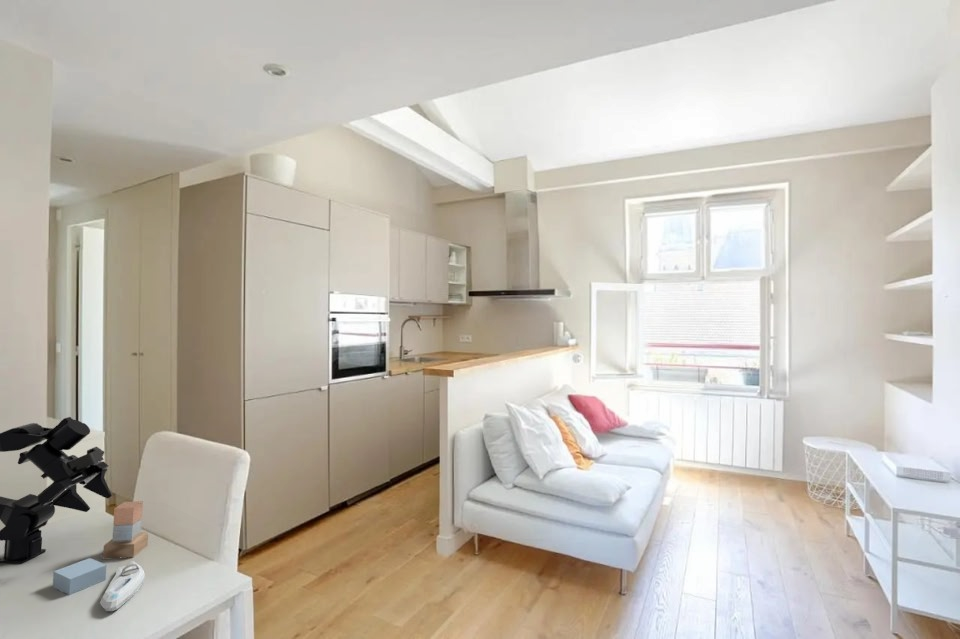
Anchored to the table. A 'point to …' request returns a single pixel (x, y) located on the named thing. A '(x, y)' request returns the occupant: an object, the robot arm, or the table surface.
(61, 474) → the robot arm
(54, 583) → the stand
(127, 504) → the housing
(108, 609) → the spaceship
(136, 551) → the stand
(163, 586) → the table surface
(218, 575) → the table surface
